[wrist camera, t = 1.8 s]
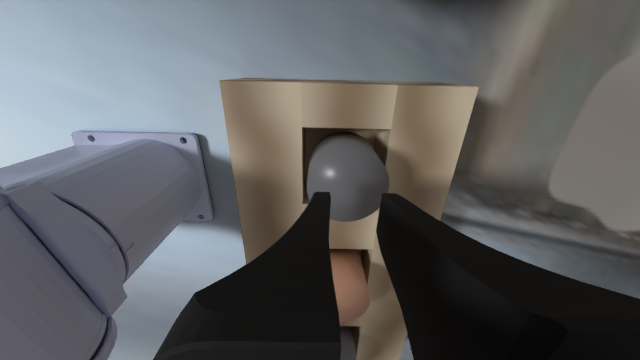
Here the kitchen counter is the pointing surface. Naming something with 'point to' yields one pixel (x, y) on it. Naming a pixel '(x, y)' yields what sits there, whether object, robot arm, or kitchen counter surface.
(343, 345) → the knob
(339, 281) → the knob middle
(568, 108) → the kitchen counter surface
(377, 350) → the mount
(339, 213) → the knob
